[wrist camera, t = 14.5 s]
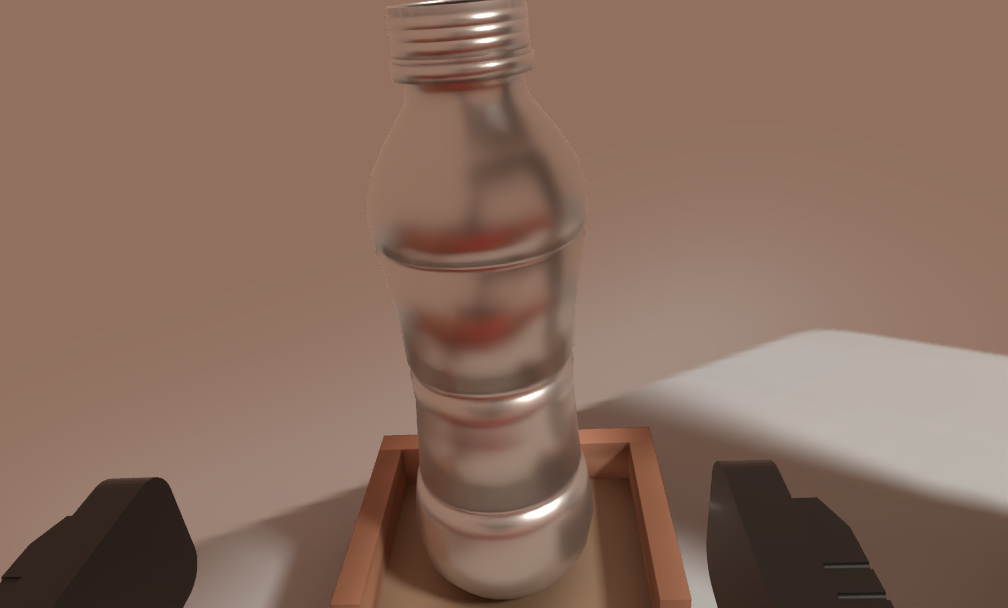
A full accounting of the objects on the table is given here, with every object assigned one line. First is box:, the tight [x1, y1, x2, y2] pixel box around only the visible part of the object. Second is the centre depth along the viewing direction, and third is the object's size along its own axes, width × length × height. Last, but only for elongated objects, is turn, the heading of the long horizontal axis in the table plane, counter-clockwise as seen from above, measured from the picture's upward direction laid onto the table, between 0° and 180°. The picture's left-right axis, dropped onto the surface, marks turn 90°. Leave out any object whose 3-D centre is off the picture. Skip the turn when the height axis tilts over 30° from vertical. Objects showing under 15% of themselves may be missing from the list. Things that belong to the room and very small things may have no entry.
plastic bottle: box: [366, 0, 594, 599], centre depth 22 cm, size 6×7×20 cm
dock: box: [330, 427, 692, 608], centre depth 27 cm, size 12×9×5 cm
